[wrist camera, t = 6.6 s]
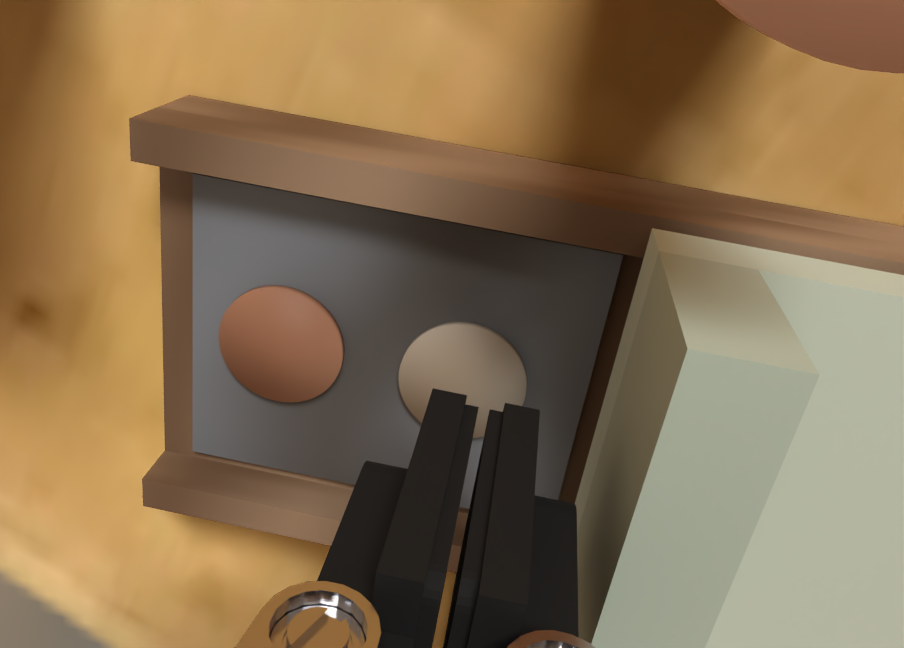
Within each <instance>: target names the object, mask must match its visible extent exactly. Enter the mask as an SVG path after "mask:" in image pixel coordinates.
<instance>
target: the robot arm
mask: <svg viewBox="0 0 904 648" xmlns="http://www.w3.org/2000/svg"><path fill="white" fill-rule="evenodd" d="M466 399H467V395H464V394H459V393H454V392H449V391H444V390H439V389H434V388H433V389H432V392H431V395H430V399H429V402H428V405H427V408H426V412H425V415H424V418H423V421H422V425H421V428H420V431H419V434H418V438H417V441H416V444H415V447H414V451H413V454H412V457H411V460H410V464H409V467H408V469H405V468H401V467H396V466H391V465H386V464H381V463H376V462H372V461H366V462H365V463H364V465H363V467H362V469H361V472H360V474H359V477H358V479H357V482H356V484H355V487H354V489H353V492H352V494H351V497H350V499H349V502H348V504H347V507H346V510H345V512H344V515H343V517H342V520H341V522H340V525H339V527H338V530H337V532H336V535H335V537H334V540H333V542H332V545H331V547H330V550H329V552H328V555H327V557H326V560H325V562H324V565H323V568H322V570H321V573H320V575H319V578H318V580H317V581H310V582H304V583H300V584H297V585H293V586H290V587H288V588H286V589H284V590H283V591H281V592H279V593H277V594H276V595H274V596H273V597H272V598H271V599H270V600H269V601H268V602H267V603H266V605H265V606H264V607H263V608H262V609H261V611H260V612H259V614H258V615H257V616H256V618H255V619H254V621H253V622H252V624H251V625H250V627H249V628H248V630H247V631H246V633H245V634H244V635H243V637H242V638H241V640H240V641H239V643H238V644H237V646H236V647H235V648H432V643H433V638H434V633H435V628H436V623H437V618H438V613H439V608H440V603H441V598H442V593H443V587H444V582H445V577H446V572H447V567H448V562H449V557H450V552H451V547H452V541H453V536H454V531H455V526H456V521H457V516H458V511H459V506H460V501H461V495H462V490H463V485H464V480H465V475H466V470H467V465H468V460H469V454H470V449H471V444H472V439H473V434H474V429H475V424H476V419H477V414H478V408H479V407H476V406H471V405H466ZM539 417H540V410H538V409H533V408H528V407H523V406H518V405H513V404H509V403H505V405H504V409H503V412H501V411H496V410H491V409H490V410H489V415H488V420H487V425H486V429H485V434H484V439H483V444H482V449H481V454H480V459H479V464H478V469H477V473H476V478H475V483H474V488H473V493H472V498H471V503H470V508H469V512H468V517H467V522H466V527H465V532H464V537H463V542H462V547H461V552H460V557H459V562H458V568H457V574H456V579H455V585H454V590H453V596H452V602H451V607H450V613H449V618H448V624H447V629H446V635H445V641H444V646H443V648H595V647H594V646H593V645H592V644H590V643H589V642H587V641H585V640H583V639H581V638H579V631H578V561H577V510H576V505H575V504H574V503H569V502H565V501H560V500H555V499H550V498H545V497H540V496H536V495H535V482H536V465H537V449H538V433H539Z"/></svg>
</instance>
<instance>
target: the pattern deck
mask: <svg viewBox="0 0 904 648" xmlns="http://www.w3.org/2000/svg"><path fill="white" fill-rule="evenodd" d="M129 122H130V150H131V161H134V162H139V163H144V164H150V165H155V166H160V211H161V264H162V317H163V369H164V422H165V451H164V452H163V454H162V455H161V456H160V457H159V459H158V460H157V461H156V462H155V464H154V465H153V466H152V467H151V469H150V470H149V471H148V472H147V474H146V475H145V476H144V477H143V479H142V485H143V506H146V507H151V508H156V509H160V510H165V511H170V512H174V513H179V514H184V515H188V516H193V517H198V518H202V519H207V520H212V521H217V522H221V523H226V524H231V525H235V526H240V527H245V528H249V529H254V530H259V531H263V532H268V533H273V534H277V535H282V536H287V537H291V538H296V539H301V540H305V541H310V542H315V543H319V544H324V545H329V546H331V545H332V542H333V540H334V537H335V535H336V532H337V530H338V527H339V525H340V522H341V520H342V517H343V515H344V512H345V510H346V507H347V504H348V502H349V499H350V497H351V494H352V492H353V489H354V487H355V484H356V482H357V479H358V477H359V474H360V472H361V469H362V467H363V465H364V463H365V462H366V461H372V462H376V463H381V464H386V465H391V466H396V467H401V468H405V469H408V467H409V464H410V460H411V457H412V454H413V451H414V447H415V444H416V441H417V438H418V434H419V431H420V428H421V425H422V421H423V418H424V415H425V412H426V408H427V405H428V402H429V399H430V395H431V392H432V389H433V388H434V389H439V390H444V391H449V392H454V393H459V394H464V395H467V399H466V405H471V406H476V407H479V408H478V414H477V419H476V424H475V429H474V434H473V439H472V444H471V449H470V454H469V460H468V465H467V470H466V475H465V480H464V485H463V490H462V495H461V501H460V506H459V511H458V516H457V521H456V526H455V531H454V536H453V541H452V547H451V552H450V557H449V562H448V567H447V571H450V572H455V573H457V568H458V562H459V557H460V552H461V547H462V542H463V537H464V532H465V527H466V522H467V517H468V512H469V508H470V503H471V498H472V493H473V488H474V483H475V478H476V473H477V469H478V464H479V459H480V454H481V449H482V444H483V439H484V434H485V429H486V425H487V420H488V415H489V410H490V409H491V410H496V411H501V412H503V409H504V405H505V403H509V404H513V405H518V406H523V407H528V408H533V409H538V410H540V417H539V433H538V449H537V465H536V482H535V495H536V496H540V497H545V498H550V499H555V500H560V501H565V502H569V503H574V504H575V501H576V497H577V494H578V490H579V487H580V483H581V479H582V476H583V472H584V469H585V465H586V462H587V458H588V454H589V451H590V447H591V444H592V440H593V437H594V433H595V430H596V426H597V422H598V419H599V415H600V412H601V408H602V405H603V401H604V398H605V394H606V390H607V387H608V383H609V380H610V376H611V373H612V369H613V365H614V362H615V358H616V355H617V351H618V348H619V344H620V341H621V337H622V333H623V330H624V326H625V323H626V319H627V316H628V312H629V309H630V305H631V301H632V298H633V294H634V291H635V287H636V284H637V280H638V277H639V273H640V269H641V266H642V262H643V259H644V255H645V252H646V248H647V244H648V241H649V237H650V234H651V230H652V228H654V229H660V230H665V231H670V232H676V233H681V234H686V235H692V236H697V237H702V238H708V239H713V240H718V241H724V242H729V243H734V244H740V245H745V246H750V247H756V248H761V249H766V250H772V251H777V252H782V253H788V254H793V255H798V256H804V257H809V258H815V259H820V260H825V261H831V262H836V263H841V264H847V265H852V266H857V267H863V268H868V269H873V270H879V271H884V272H889V273H895V274H900V275H904V227H903V226H898V225H892V224H887V223H881V222H876V221H870V220H865V219H860V218H854V217H849V216H843V215H838V214H832V213H827V212H821V211H816V210H811V209H805V208H800V207H794V206H789V205H783V204H778V203H773V202H767V201H762V200H756V199H751V198H745V197H740V196H734V195H729V194H724V193H718V192H713V191H707V190H702V189H696V188H691V187H686V186H680V185H675V184H669V183H664V182H658V181H653V180H647V179H642V178H637V177H631V176H626V175H620V174H615V173H609V172H604V171H599V170H593V169H588V168H582V167H577V166H571V165H566V164H560V163H555V162H550V161H544V160H539V159H533V158H528V157H522V156H517V155H512V154H506V153H501V152H495V151H490V150H484V149H479V148H473V147H468V146H463V145H457V144H452V143H446V142H441V141H435V140H430V139H425V138H419V137H414V136H408V135H403V134H397V133H392V132H386V131H381V130H376V129H370V128H365V127H359V126H354V125H348V124H343V123H338V122H332V121H327V120H321V119H316V118H310V117H305V116H299V115H294V114H289V113H283V112H278V111H272V110H267V109H261V108H256V107H251V106H245V105H240V104H234V103H229V102H223V101H218V100H212V99H207V98H202V97H196V96H191V95H188V96H185V97H183V98H180V99H178V100H175V101H173V102H170V103H167V104H165V105H162V106H160V107H157V108H155V109H152V110H150V111H147V112H145V113H142V114H139V115H137V116H134V117H132V118H129Z"/></svg>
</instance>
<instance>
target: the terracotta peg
mask: <svg viewBox="0 0 904 648" xmlns="http://www.w3.org/2000/svg"><path fill="white" fill-rule="evenodd" d="M715 1H716V2H718V3H719V4H720V5H721V6H723V7H724V8H725V9H726V10H727V11H729V12H730V13H731V14H732V15H734V16H735V17H736V18H737V19H739V20H741V21H742V22H744V23H746V24H747V25H749V26H751V27H753V28H754V29H756V30H758V31H759V32H761V33H763V34H765V35H766V36H769V37H771V38H773V39H775V40H777V41H779V42H781V43H783V44H785V45H787V46H789V47H791V48H793V49H796V50H798V51H801V52H803V53H806V54H808V55H811V56H813V57H816V58H818V59H821V60H823V61H827V62H831V63H835V64H839V65H844V66H848V67H852V68H856V69H860V70H870V71H880V72H890V73H904V0H715Z"/></svg>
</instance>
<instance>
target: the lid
mask: <svg viewBox="0 0 904 648" xmlns="http://www.w3.org/2000/svg"><path fill="white" fill-rule="evenodd" d="M575 505H576V510H577V561H578V631H579V638H581V639H583V640H585V641H587V642H589V643H590V644H592V645H593V646H594V647H595V648H904V275H900V274H895V273H889V272H884V271H879V270H873V269H868V268H863V267H857V266H852V265H847V264H841V263H836V262H831V261H825V260H820V259H815V258H809V257H804V256H798V255H793V254H788V253H782V252H777V251H772V250H766V249H761V248H756V247H750V246H745V245H740V244H734V243H729V242H724V241H718V240H713V239H708V238H702V237H697V236H692V235H686V234H681V233H676V232H670V231H665V230H660V229H654V228H652V230H651V234H650V237H649V241H648V244H647V248H646V252H645V255H644V259H643V262H642V266H641V269H640V273H639V277H638V280H637V284H636V287H635V291H634V294H633V298H632V301H631V305H630V309H629V312H628V316H627V319H626V323H625V326H624V330H623V333H622V337H621V341H620V344H619V348H618V351H617V355H616V358H615V362H614V365H613V369H612V373H611V376H610V380H609V383H608V387H607V390H606V394H605V398H604V401H603V405H602V408H601V412H600V415H599V419H598V422H597V426H596V430H595V433H594V437H593V440H592V444H591V447H590V451H589V454H588V458H587V462H586V465H585V469H584V472H583V476H582V479H581V483H580V487H579V490H578V494H577V497H576V501H575Z"/></svg>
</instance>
